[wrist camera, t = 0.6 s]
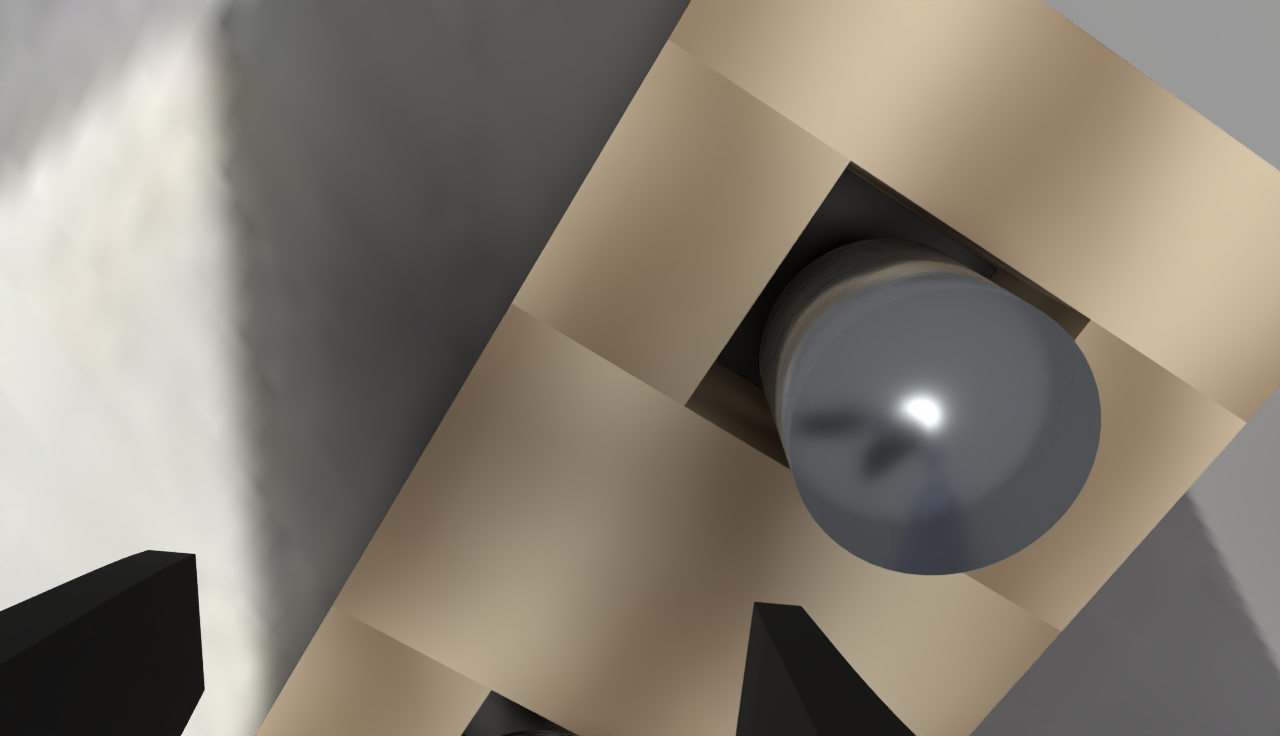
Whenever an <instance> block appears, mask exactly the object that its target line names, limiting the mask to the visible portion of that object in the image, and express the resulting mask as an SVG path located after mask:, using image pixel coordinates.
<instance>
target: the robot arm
mask: <svg viewBox="0 0 1280 736" xmlns="http://www.w3.org/2000/svg"><path fill="white" fill-rule="evenodd" d="M204 690H205V687H204V672H203V657H202V643H201V628H200V614H199V599H198V584H197V570H196V555H195V554H189V553H177V552H166V551H154V550H147V551H144V552H141V553H138V554H135V555H132V556H129V557H126V558H123V559H121V560H118V561H116V562H113V563H111V564H108V565H106V566H103V567H101V568H99V569H96V570H94V571H92V572H89V573H87V574H85V575H82V576H80V577H78V578H75V579H73V580H71V581H69V582H66V583H64V584H62V585H59V586H57V587H55V588H53V589H50V590H48V591H46V592H43V593H41V594H39V595H37V596H34V597H32V598H30V599H27V600H25V601H23V602H21V603H18V604H16V605H14V606H11V607H9V608H7V609H5V610H2V611H0V736H181V734H182V732H183V731H184V729H185V727H186V725H187V723H188V721H189V719H190V717H191V715H192V713H193V711H194V710H195V708H196V706H197V704H198V702H199V700H200V698H201V696H202V694H203V692H204ZM736 736H916V735H915V734H914V733H913V732H912V731H911V730H910V729H909V728H908V727H907V726H906V725H905V724H904V723H903V722H902V721H901V720H900V719H899V718H898V717H897V716H896V715H895V714H894V713H893V711H892V710H891V709H890V708H889V707H888V706H887V705H886V704H885V703H884V702H883V701H882V700H881V699H880V698H879V697H878V696H877V694H876V693H875V692H874V691H873V690H872V689H871V688H870V687H869V686H868V684H867V683H866V682H865V681H864V680H863V679H862V678H861V677H860V675H859V674H858V673H857V672H856V671H855V670H854V669H853V667H852V666H851V665H850V664H849V663H848V662H847V660H846V659H845V658H844V657H843V656H842V654H841V653H840V652H839V651H838V650H837V648H836V647H835V646H834V645H833V644H832V642H831V641H830V640H829V639H828V637H827V636H826V635H825V634H824V633H823V631H822V630H821V629H820V628H819V626H818V625H817V624H816V623H815V622H814V620H813V619H812V618H811V617H810V616H809V614H808V613H807V612H806V611H805V610H804V608H803V607H802V606H798V605H786V604H775V603H763V602H754V605H753V612H752V620H751V627H750V634H749V641H748V649H747V656H746V663H745V670H744V677H743V685H742V692H741V699H740V706H739V714H738V721H737V728H736Z"/></svg>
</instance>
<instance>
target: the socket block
mask: <svg viewBox="0 0 1280 736" xmlns="http://www.w3.org/2000/svg"><path fill="white" fill-rule="evenodd" d="M845 168H846V169H847V170H849V171H850V172H852V173H853V174H855V175H856V176H858V177H859V178H861V179H862V180H864V181H865V182H867V183H868V184H870V185H871V186H873V187H874V188H876V189H878V190H879V191H881V192H882V193H884V194H885V195H887V196H888V197H890V198H891V199H893V200H894V201H896V202H897V203H899V204H900V205H902V206H903V207H905V208H906V209H908V210H909V211H911V212H912V213H914V214H915V215H917V216H918V217H920V218H921V219H923V220H924V221H926V222H927V223H929V224H931V225H932V226H934V227H935V228H937V229H938V230H940V231H941V232H943V233H944V234H946V235H947V236H949V237H950V238H952V239H953V240H955V241H956V242H958V243H959V244H961V245H962V246H964V247H965V248H967V249H968V250H970V251H971V252H973V253H974V254H976V255H977V256H979V257H980V258H982V259H984V260H985V261H987V262H988V263H990V264H991V265H993V266H994V267H996V268H997V269H996V271H995V272H994V273H993V275H992V276H991V277H990V279H989V280H990V281H992V282H993V283H995V284H997V285H998V286H1000V287H1002V288H1003V289H1005V290H1007V291H1008V292H1010V293H1012V294H1014V295H1015V296H1017V297H1019V298H1020V299H1022V300H1024V301H1025V302H1027V303H1029V304H1030V305H1032V306H1034V307H1035V308H1037V309H1039V310H1041V311H1042V312H1044V313H1045V314H1046V315H1048V316H1049V317H1050V318H1052V319H1053V320H1054V321H1056V322H1057V323H1058V324H1059V325H1060V326H1061V327H1062V328H1063V329H1064V330H1065V331H1066V332H1067V333H1068V334H1069V335H1070V336H1071V337H1072V338H1073V340H1074V341H1075V342H1076V344H1077V345H1078V347H1079V348H1080V349H1081V351H1082V352H1083V354H1084V356H1085V358H1086V360H1087V362H1088V364H1089V366H1090V368H1091V370H1092V372H1093V375H1094V378H1095V381H1096V384H1097V388H1098V393H1099V399H1100V405H1101V432H1100V440H1099V446H1098V450H1097V454H1096V457H1095V461H1094V464H1093V467H1092V469H1091V471H1090V474H1089V476H1088V479H1087V481H1086V483H1085V485H1084V486H1083V488H1082V490H1081V492H1080V493H1079V495H1078V497H1077V498H1076V500H1075V501H1074V502H1073V504H1072V505H1071V506H1070V508H1069V509H1068V510H1067V512H1066V513H1065V514H1064V515H1063V516H1062V517H1061V518H1060V520H1059V521H1058V522H1057V523H1056V524H1055V525H1054V526H1053V527H1052V528H1051V529H1050V530H1048V531H1047V532H1046V533H1045V534H1044V535H1042V536H1041V537H1040V538H1039V539H1038V540H1036V541H1035V542H1033V543H1032V544H1030V545H1029V546H1027V547H1026V548H1024V549H1023V550H1021V551H1020V552H1018V553H1016V554H1014V555H1012V556H1010V557H1008V558H1006V559H1004V560H1002V561H1000V562H997V563H994V564H992V565H989V566H986V567H983V568H980V569H976V570H972V571H968V572H964V573H956V574H949V575H915V574H905V573H901V572H896V571H892V570H887V569H884V568H882V567H879V566H876V565H873V564H870V563H868V562H866V561H864V560H862V559H860V558H858V557H856V556H854V555H853V554H851V553H850V552H848V551H847V550H845V549H844V548H842V547H841V546H839V545H838V544H837V543H836V542H835V541H834V540H832V539H831V538H830V537H829V536H828V535H827V534H826V533H825V532H824V531H823V530H822V529H821V527H820V526H819V525H818V524H817V523H816V521H815V520H814V519H813V517H812V516H811V514H810V513H809V511H808V509H807V508H806V506H805V505H804V503H803V500H802V498H801V496H800V493H799V491H798V489H797V486H796V483H795V480H794V478H793V475H792V472H791V469H790V466H789V463H788V460H787V457H786V454H785V451H784V448H783V445H782V443H781V440H780V437H779V434H778V431H777V428H776V425H775V422H774V419H773V416H772V413H771V410H770V408H769V405H768V402H767V399H766V396H765V393H764V390H763V389H761V388H759V387H758V386H756V385H755V384H753V383H751V382H750V381H748V380H746V379H745V378H743V377H741V376H740V375H738V374H736V373H735V372H733V371H732V370H730V369H728V368H727V367H725V366H723V365H722V364H720V363H718V362H717V361H715V360H716V358H717V357H718V355H719V354H720V352H721V351H722V349H723V348H724V347H725V345H726V344H727V342H728V341H729V339H730V338H731V336H732V335H733V333H734V332H735V330H736V329H737V327H738V326H739V324H740V323H741V321H742V320H743V319H744V317H745V316H746V314H747V313H748V311H749V310H750V308H751V307H752V305H753V304H754V302H755V301H756V299H757V298H758V296H759V295H760V293H761V292H762V290H763V289H764V288H765V286H766V285H767V283H768V282H769V280H770V279H771V277H772V276H773V274H774V273H775V271H776V270H777V268H778V267H779V265H780V264H781V262H782V261H783V260H784V258H785V257H786V255H787V254H788V252H789V251H790V249H791V248H792V246H793V245H794V243H795V242H796V240H797V239H798V237H799V236H800V234H801V233H802V231H803V230H804V229H805V227H806V226H807V224H808V223H809V221H810V220H811V218H812V217H813V215H814V214H815V212H816V211H817V209H818V208H819V206H820V205H821V203H822V202H823V201H824V199H825V198H826V196H827V195H828V193H829V192H830V190H831V189H832V187H833V186H834V184H835V183H836V181H837V180H838V178H839V177H840V175H841V174H842V173H843V171H844V170H845ZM1279 386H1280V171H1279V170H1277V169H1276V168H1274V167H1273V166H1272V165H1270V164H1269V163H1267V162H1266V161H1265V160H1263V159H1262V158H1260V157H1259V156H1258V155H1256V154H1255V153H1253V152H1252V151H1251V150H1249V149H1248V148H1247V147H1245V146H1244V145H1242V144H1241V143H1240V142H1238V141H1237V140H1235V139H1234V138H1232V137H1231V136H1230V135H1228V134H1227V133H1226V132H1224V131H1223V130H1222V129H1220V128H1219V127H1217V126H1216V125H1214V124H1213V123H1212V122H1210V121H1209V120H1208V119H1206V118H1205V117H1203V116H1202V115H1201V114H1199V113H1198V112H1196V111H1195V110H1194V109H1192V108H1191V107H1190V106H1188V105H1187V104H1185V103H1184V102H1183V101H1181V100H1180V99H1178V98H1177V97H1176V96H1174V95H1172V94H1171V93H1170V92H1169V91H1167V90H1166V89H1164V88H1163V87H1161V86H1160V85H1159V84H1157V83H1156V82H1155V81H1153V80H1152V79H1150V78H1149V77H1148V76H1146V75H1145V74H1144V73H1142V72H1141V71H1139V70H1138V69H1137V68H1135V67H1134V66H1132V65H1131V64H1129V63H1128V62H1127V61H1125V60H1124V59H1122V58H1121V57H1120V56H1119V55H1117V54H1116V53H1114V52H1113V51H1112V50H1110V49H1109V48H1107V47H1106V46H1105V45H1103V44H1102V43H1100V42H1099V41H1098V40H1096V39H1095V38H1094V37H1092V36H1091V35H1089V34H1088V33H1087V32H1085V31H1084V30H1082V29H1081V28H1079V27H1078V26H1077V25H1075V24H1074V23H1073V22H1071V21H1070V20H1069V19H1067V18H1066V17H1064V16H1063V15H1062V14H1060V13H1059V12H1057V11H1056V10H1054V9H1053V8H1052V7H1050V6H1049V5H1048V4H1046V3H1045V2H1043V1H1042V0H691V2H690V4H689V5H688V7H687V9H686V10H685V12H684V14H683V15H682V17H681V19H680V20H679V22H678V24H677V25H676V27H675V29H674V31H673V32H672V34H671V36H670V37H669V39H668V41H667V42H666V44H665V46H664V47H663V49H662V51H661V52H660V54H659V56H658V57H657V59H656V61H655V63H654V64H653V66H652V68H651V69H650V71H649V73H648V74H647V76H646V78H645V79H644V81H643V83H642V84H641V86H640V88H639V89H638V91H637V93H636V95H635V96H634V98H633V100H632V101H631V103H630V105H629V106H628V108H627V110H626V111H625V113H624V115H623V116H622V118H621V120H620V122H619V123H618V125H617V127H616V128H615V130H614V132H613V133H612V135H611V137H610V138H609V140H608V142H607V143H606V145H605V147H604V148H603V150H602V152H601V154H600V155H599V157H598V159H597V160H596V162H595V164H594V165H593V167H592V169H591V170H590V172H589V174H588V175H587V177H586V179H585V180H584V182H583V184H582V186H581V187H580V189H579V191H578V192H577V194H576V196H575V197H574V199H573V201H572V202H571V204H570V206H569V207H568V209H567V211H566V212H565V214H564V216H563V218H562V219H561V221H560V223H559V224H558V226H557V228H556V229H555V231H554V233H553V234H552V236H551V238H550V239H549V241H548V243H547V245H546V246H545V248H544V250H543V251H542V253H541V255H540V256H539V258H538V260H537V261H536V263H535V265H534V266H533V268H532V270H531V271H530V273H529V275H528V277H527V278H526V280H525V282H524V283H523V285H522V287H521V288H520V290H519V292H518V293H517V295H516V297H515V298H514V300H513V302H512V303H511V305H510V307H509V309H508V310H507V312H506V314H505V315H504V317H503V319H502V320H501V322H500V324H499V325H498V327H497V329H496V330H495V332H494V334H493V335H492V337H491V339H490V341H489V342H488V344H487V346H486V347H485V349H484V351H483V352H482V354H481V356H480V357H479V359H478V361H477V362H476V364H475V366H474V368H473V369H472V371H471V373H470V374H469V376H468V378H467V379H466V381H465V383H464V384H463V386H462V388H461V389H460V391H459V393H458V394H457V396H456V398H455V400H454V401H453V403H452V405H451V406H450V408H449V410H448V411H447V413H446V415H445V416H444V418H443V420H442V421H441V423H440V425H439V426H438V428H437V430H436V432H435V433H434V435H433V437H432V438H431V440H430V442H429V443H428V445H427V447H426V448H425V450H424V452H423V453H422V455H421V457H420V459H419V460H418V462H417V464H416V465H415V467H414V469H413V470H412V472H411V474H410V475H409V477H408V479H407V480H406V482H405V484H404V485H403V487H402V489H401V491H400V492H399V494H398V496H397V497H396V499H395V501H394V502H393V504H392V506H391V507H390V509H389V511H388V512H387V514H386V516H385V517H384V519H383V521H382V523H381V524H380V526H379V528H378V529H377V531H376V533H375V534H374V536H373V538H372V539H371V541H370V543H369V544H368V546H367V548H366V549H365V551H364V553H363V555H362V556H361V558H360V560H359V561H358V563H357V565H356V566H355V568H354V570H353V571H352V573H351V575H350V576H349V578H348V580H347V582H346V583H345V585H344V587H343V588H342V590H341V592H340V593H339V595H338V597H337V598H336V600H335V602H334V603H333V605H332V607H331V608H330V610H329V612H328V614H327V615H326V617H325V619H324V620H323V622H322V624H321V625H320V627H319V629H318V630H317V632H316V634H315V635H314V637H313V639H312V640H311V642H310V644H309V646H308V647H307V649H306V651H305V652H304V654H303V656H302V657H301V659H300V661H299V662H298V664H297V666H296V667H295V669H294V671H293V672H292V674H291V676H290V678H289V679H288V681H287V683H286V684H285V686H284V688H283V689H282V691H281V693H280V694H279V696H278V698H277V699H276V701H275V703H274V705H273V706H272V708H271V710H270V711H269V713H268V715H267V716H266V718H265V720H264V721H263V723H262V725H261V726H260V728H259V730H258V731H257V733H256V735H255V736H463V735H461V734H462V733H463V731H464V730H465V728H466V727H467V725H468V724H469V723H470V721H471V720H472V718H473V717H474V715H475V714H476V712H477V711H478V709H479V708H480V706H481V705H482V703H483V702H484V700H485V699H486V697H487V696H488V695H489V693H490V692H491V690H493V691H495V692H497V693H499V694H500V695H502V696H504V697H506V698H508V699H510V700H512V701H514V702H516V703H518V704H519V705H521V706H523V707H525V708H527V709H529V710H531V711H533V712H535V713H537V714H539V715H540V716H542V717H544V718H546V719H548V720H550V721H552V722H554V723H556V724H558V725H559V726H561V727H563V728H565V729H567V730H569V731H571V732H573V733H575V734H577V735H578V736H736V728H737V721H738V714H739V706H740V699H741V692H742V685H743V677H744V670H745V663H746V656H747V649H748V641H749V634H750V627H751V620H752V612H753V605H754V602H763V603H775V604H786V605H798V606H802V607H803V608H804V610H805V611H806V612H807V613H808V614H809V616H810V617H811V618H812V619H813V620H814V622H815V623H816V624H817V625H818V626H819V628H820V629H821V630H822V631H823V633H824V634H825V635H826V636H827V637H828V639H829V640H830V641H831V642H832V644H833V645H834V646H835V647H836V648H837V650H838V651H839V652H840V653H841V654H842V656H843V657H844V658H845V659H846V660H847V662H848V663H849V664H850V665H851V666H852V667H853V669H854V670H855V671H856V672H857V673H858V674H859V675H860V677H861V678H862V679H863V680H864V681H865V682H866V683H867V684H868V686H869V687H870V688H871V689H872V690H873V691H874V692H875V693H876V694H877V696H878V697H879V698H880V699H881V700H882V701H883V702H884V703H885V704H886V705H887V706H888V707H889V708H890V709H891V710H892V711H893V713H894V714H895V715H896V716H897V717H898V718H899V719H900V720H901V721H902V722H903V723H904V724H905V725H906V726H907V727H908V728H909V729H910V730H911V731H912V732H913V733H914V734H915V735H916V736H969V735H970V734H971V733H972V732H973V731H974V730H975V729H976V727H977V726H978V725H979V724H980V723H981V722H982V721H983V720H984V718H985V717H986V716H987V715H988V714H989V713H990V712H991V711H992V709H993V708H994V707H995V706H996V705H997V704H998V703H999V702H1000V700H1001V699H1002V698H1003V697H1004V696H1005V695H1006V694H1007V693H1008V691H1009V690H1010V689H1011V688H1012V687H1013V686H1014V685H1015V684H1016V682H1017V681H1018V680H1019V679H1020V678H1021V677H1022V676H1023V675H1024V673H1025V672H1026V671H1027V670H1028V669H1029V668H1030V667H1031V666H1032V664H1033V663H1034V662H1035V661H1036V660H1037V659H1038V658H1039V657H1040V655H1041V654H1042V653H1043V652H1044V651H1045V650H1046V649H1047V647H1048V646H1049V645H1050V644H1051V643H1052V642H1053V641H1054V640H1055V638H1056V637H1057V636H1058V635H1059V634H1060V633H1061V632H1062V631H1063V629H1064V628H1065V627H1066V626H1067V625H1068V624H1069V623H1070V622H1071V620H1072V619H1073V618H1074V617H1075V616H1076V615H1077V614H1078V613H1079V611H1080V610H1081V609H1082V608H1083V607H1084V606H1085V605H1086V604H1087V602H1088V601H1089V600H1090V599H1091V598H1092V597H1093V596H1094V595H1095V593H1096V592H1097V591H1098V590H1099V589H1100V588H1101V587H1102V586H1103V584H1104V583H1105V582H1106V581H1107V580H1108V579H1109V578H1110V577H1111V575H1112V574H1113V573H1114V572H1115V571H1116V570H1117V569H1118V568H1119V566H1120V565H1121V564H1122V563H1123V562H1124V561H1125V560H1126V558H1127V557H1128V556H1129V555H1130V554H1131V553H1132V552H1133V551H1134V549H1135V548H1136V547H1137V546H1138V545H1139V544H1140V543H1141V542H1142V540H1143V539H1144V538H1145V537H1146V536H1147V535H1148V534H1149V533H1150V531H1151V530H1152V529H1153V528H1154V527H1155V526H1156V525H1157V524H1158V522H1159V521H1160V520H1161V519H1162V518H1163V517H1164V516H1165V515H1166V513H1167V512H1168V511H1169V510H1170V509H1171V508H1172V507H1173V506H1174V504H1175V503H1176V502H1177V501H1178V500H1179V499H1180V498H1181V497H1182V495H1183V494H1184V493H1185V492H1186V491H1187V490H1188V489H1189V488H1190V486H1191V485H1192V484H1193V483H1194V482H1195V481H1196V480H1197V478H1198V477H1199V476H1200V475H1201V474H1202V473H1203V472H1204V471H1205V469H1206V468H1207V467H1208V466H1209V465H1210V464H1211V463H1212V461H1213V460H1214V459H1215V458H1216V457H1217V456H1218V455H1219V454H1220V452H1221V451H1222V450H1223V449H1224V448H1225V447H1226V446H1227V445H1228V444H1229V442H1230V441H1231V440H1232V439H1233V438H1234V437H1235V436H1236V434H1237V433H1238V432H1239V431H1240V430H1241V429H1242V427H1244V426H1245V424H1246V423H1247V422H1248V421H1249V420H1250V419H1251V418H1252V416H1253V415H1254V414H1255V413H1256V412H1257V411H1258V410H1259V409H1260V407H1261V406H1262V405H1263V404H1264V403H1265V402H1266V401H1267V400H1268V398H1269V397H1270V396H1271V395H1272V394H1273V393H1274V392H1275V391H1276V389H1277V388H1278V387H1279Z"/></svg>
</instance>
